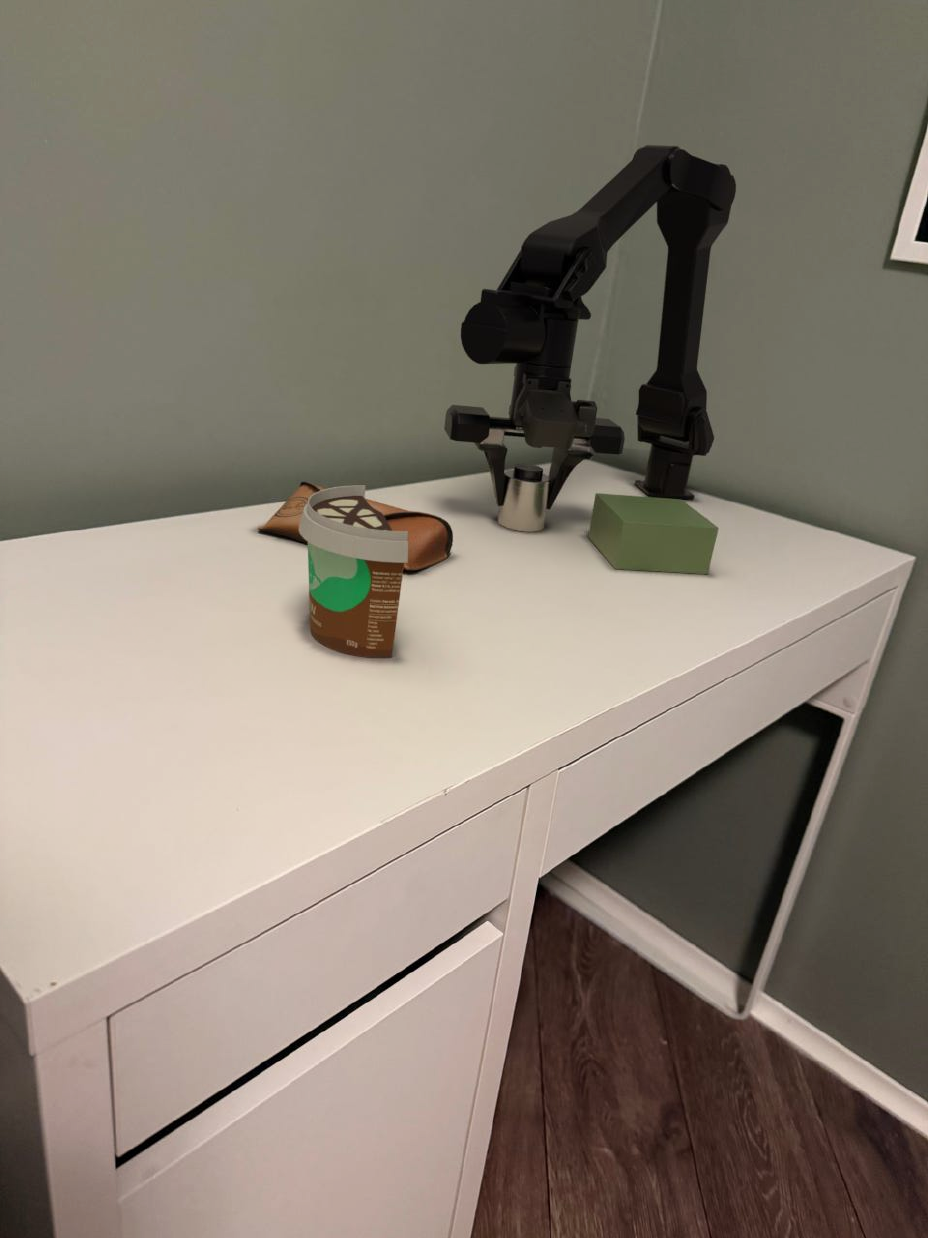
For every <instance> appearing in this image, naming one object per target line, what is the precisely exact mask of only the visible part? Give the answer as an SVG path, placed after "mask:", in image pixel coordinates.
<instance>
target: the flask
mask: <svg viewBox="0 0 928 1238" xmlns="http://www.w3.org/2000/svg"><path fill="white" fill-rule="evenodd" d="M513 467H514V468H513V469H509V470H506V471H505V472H504V495H503V501H502V506H499V509H498V514H497V515H498V516H497V523H498V524H499V525H500V526H502V527H503V528H506V529H509V530H512V531H517V532H526V533H527V532H528V533H529V532H530V533H532V532H539V531H542V530H543V529H544V527H545V522H546V515H547V511H548V510H547V504H548V497H549V491H550V485H551V478H550V477H549V475H548V474H545V473H544V468H543V467H541V466H538V465H534V464H531V463H517V464H514V466H513Z"/></svg>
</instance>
